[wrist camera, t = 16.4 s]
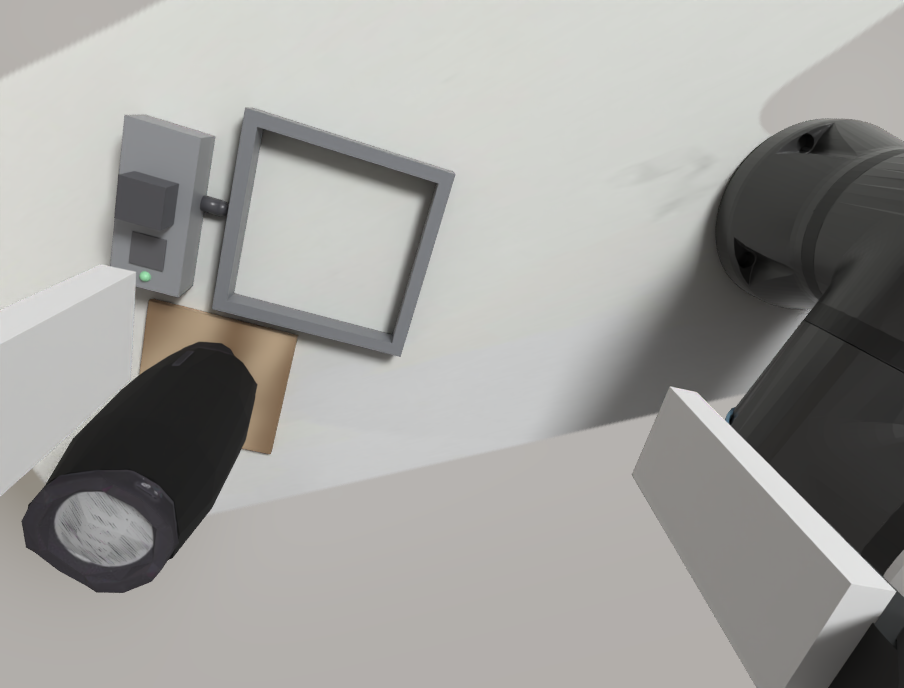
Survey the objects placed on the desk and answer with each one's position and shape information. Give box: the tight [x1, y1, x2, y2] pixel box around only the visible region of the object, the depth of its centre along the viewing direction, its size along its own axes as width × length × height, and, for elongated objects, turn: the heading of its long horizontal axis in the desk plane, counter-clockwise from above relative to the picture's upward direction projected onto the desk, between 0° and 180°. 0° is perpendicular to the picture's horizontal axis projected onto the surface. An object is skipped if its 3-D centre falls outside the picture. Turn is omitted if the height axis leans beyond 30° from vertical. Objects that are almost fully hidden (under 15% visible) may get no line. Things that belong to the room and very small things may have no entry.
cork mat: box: [140, 298, 298, 454], centre depth 49 cm, size 12×12×1 cm
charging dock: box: [200, 108, 455, 357], centre depth 44 cm, size 18×16×2 cm
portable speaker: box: [22, 342, 258, 593], centre depth 40 cm, size 9×9×20 cm
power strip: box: [110, 115, 215, 297], centre depth 41 cm, size 5×12×6 cm, turn 162°
